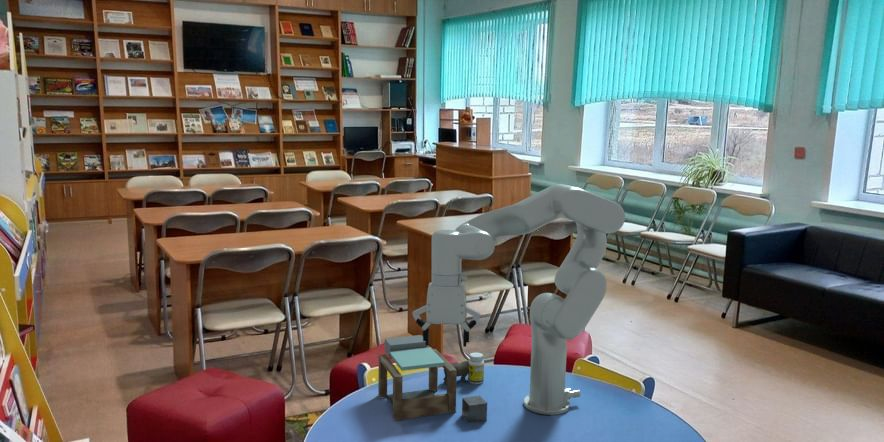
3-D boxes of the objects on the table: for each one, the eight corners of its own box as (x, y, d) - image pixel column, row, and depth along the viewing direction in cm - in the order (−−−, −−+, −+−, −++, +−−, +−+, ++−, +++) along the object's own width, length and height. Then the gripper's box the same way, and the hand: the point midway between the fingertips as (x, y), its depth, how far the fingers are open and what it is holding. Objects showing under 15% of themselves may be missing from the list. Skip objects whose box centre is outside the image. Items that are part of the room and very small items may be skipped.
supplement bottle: (465, 379, 207) (466, 352, 206) (480, 377, 209) (481, 351, 207) (471, 385, 203) (471, 358, 201) (486, 383, 204) (486, 356, 203)
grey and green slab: (423, 347, 202) (423, 334, 201) (445, 371, 184) (445, 356, 184) (382, 352, 198) (382, 338, 197) (400, 376, 180) (401, 361, 179)
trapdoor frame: (435, 388, 200) (435, 348, 198) (455, 412, 184) (456, 370, 182) (378, 395, 194) (378, 354, 193) (394, 421, 179) (395, 377, 177)
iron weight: (479, 413, 185) (479, 395, 184) (486, 421, 180) (487, 403, 179) (461, 415, 183) (462, 397, 182) (468, 423, 178) (469, 405, 177)
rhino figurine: (486, 379, 208) (487, 360, 207) (445, 386, 202) (445, 366, 201) (480, 374, 211) (480, 355, 210) (439, 381, 206) (439, 362, 205)
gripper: (481, 276, 176) (480, 340, 179) (414, 274, 177) (414, 338, 180) (480, 283, 168) (479, 350, 171) (410, 282, 170) (410, 348, 173)
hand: (446, 344), depth 176 cm, fingers open, 9 cm apart
